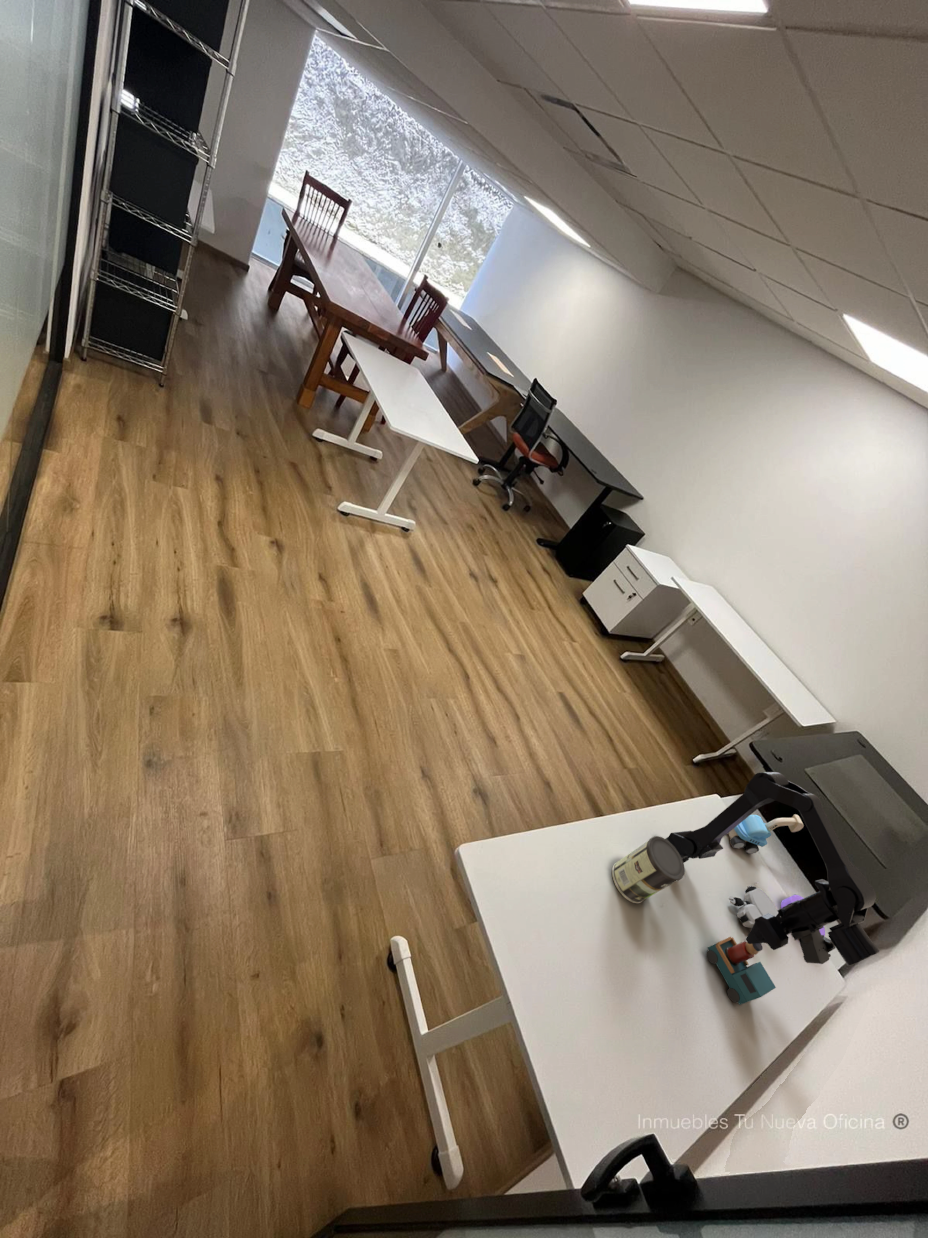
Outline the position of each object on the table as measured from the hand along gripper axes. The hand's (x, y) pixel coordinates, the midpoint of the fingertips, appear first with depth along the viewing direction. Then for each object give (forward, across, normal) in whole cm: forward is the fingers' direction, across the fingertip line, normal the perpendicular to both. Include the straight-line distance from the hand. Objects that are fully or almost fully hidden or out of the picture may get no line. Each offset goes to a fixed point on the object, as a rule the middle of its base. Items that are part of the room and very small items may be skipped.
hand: (757, 936), depth 124 cm
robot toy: (+13, +21, +4) cm, 25 cm away
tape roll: (+13, +41, -1) cm, 43 cm away
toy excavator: (+13, +40, +23) cm, 48 cm away
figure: (+9, -1, -2) cm, 9 cm away
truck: (+12, -1, -4) cm, 13 cm away
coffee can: (+13, -18, +21) cm, 30 cm away
